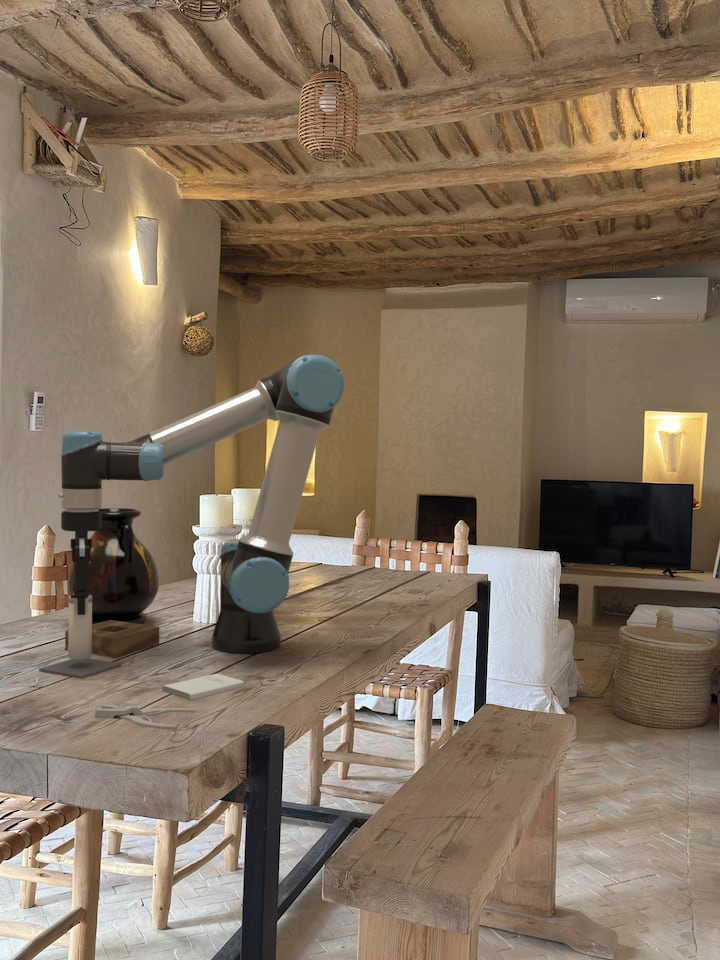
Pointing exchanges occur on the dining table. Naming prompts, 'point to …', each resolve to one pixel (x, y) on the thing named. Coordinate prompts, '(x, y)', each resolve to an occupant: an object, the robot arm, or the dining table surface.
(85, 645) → the plug
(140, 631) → the socket block
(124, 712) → the pliers
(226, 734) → the dining table surface
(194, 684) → the external hard drive
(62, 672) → the mat
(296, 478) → the robot arm
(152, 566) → the amphora vase
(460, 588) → the dining table surface
